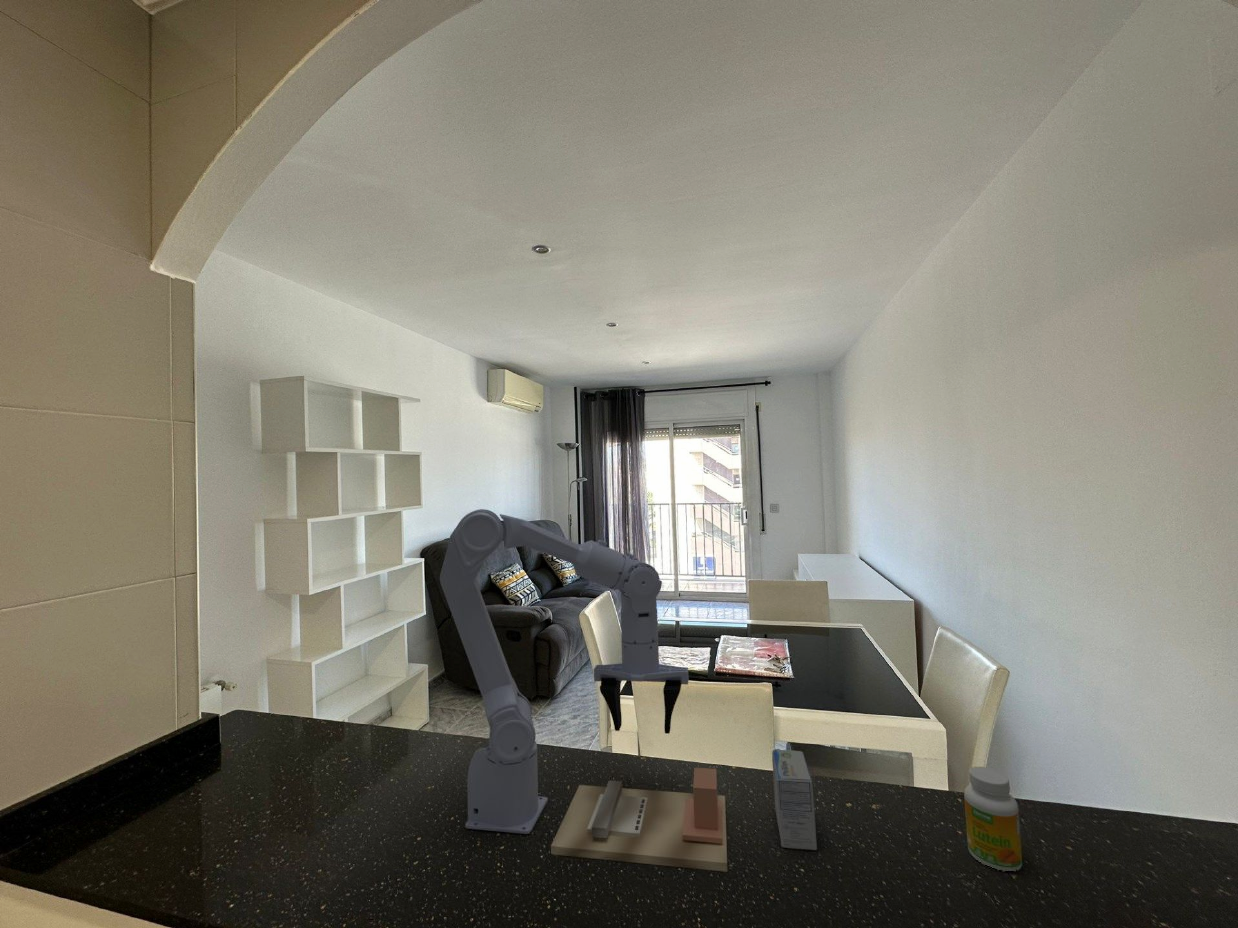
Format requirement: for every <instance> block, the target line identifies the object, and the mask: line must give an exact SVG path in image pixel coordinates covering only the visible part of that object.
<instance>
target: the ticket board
mask: <svg viewBox="0 0 1238 928" xmlns="http://www.w3.org/2000/svg"><path fill="white" fill-rule="evenodd" d="M717 795H718V794H717ZM686 798H687V799H694V798H693V792H692V793H691V792H678V791H677V792H676V791H664V790H652V789H651V790H650V789H637V788H624V787H623V781H622V780H621V781H620V780H608V782H607V784H606V786H596V785H587V784H586V785H585V784H584V785H583V784H579V785H578V787H577V789H576V791H575V794H574V796H573V798H572V800H571V802H570V804H569V807H568V809H567V810H566V812H565V813H566V814H564V817H563V819H562V821H561V823H560V826H559V828H558V830H557V832H556V835H555V836H554V837H553V841H552V843H551V845H550V854H551V855H555V856H564V857H565V856H567V857H576V858H584V859H598V860H604V861H605V860H606V861H615V862H626V863H636V864H647V865H656V866H665V867H675V868H677V867H678V868H686V869H695V870H705V871H715V872H716V871H717V872H724V873H725V872H726V873H728V853H727V852H728V851H727V845H728V844H727V821H726V820H727V816H726V812H727V811H726V795H721V794H719V795H718V801H722V842H723V843H712V842H701V841H690V840H683V839H682V833H683V823H684V813H685V802H686Z"/></svg>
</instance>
